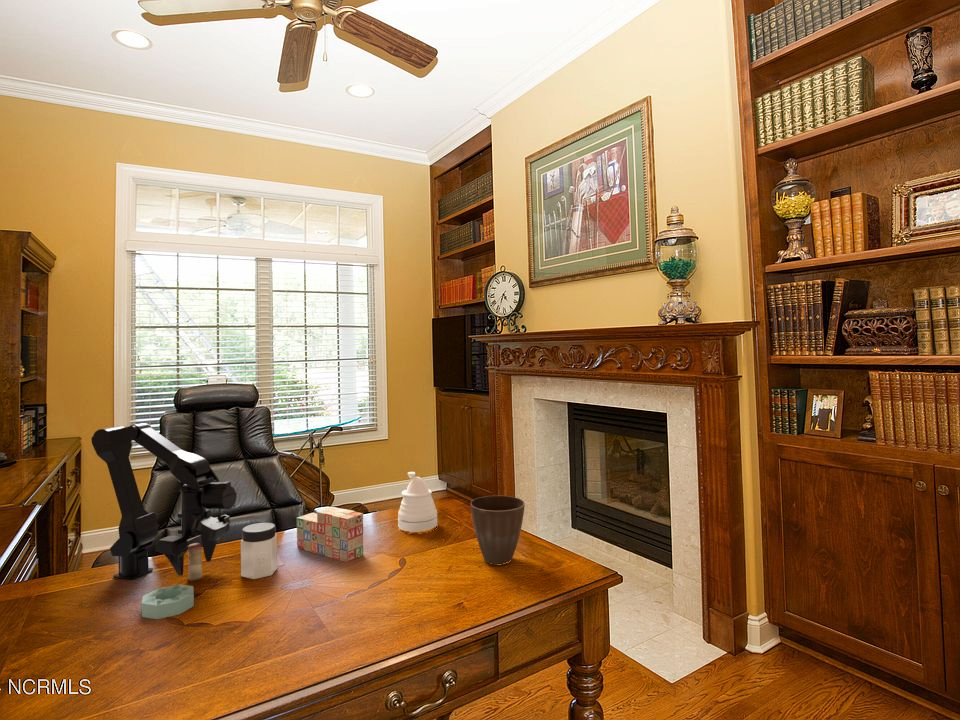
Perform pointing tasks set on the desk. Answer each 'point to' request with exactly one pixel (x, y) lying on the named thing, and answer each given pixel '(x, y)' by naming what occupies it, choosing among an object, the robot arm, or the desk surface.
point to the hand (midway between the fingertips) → (194, 568)
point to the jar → (258, 550)
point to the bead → (167, 601)
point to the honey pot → (417, 507)
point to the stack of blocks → (331, 533)
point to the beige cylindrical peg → (194, 561)
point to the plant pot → (497, 526)
